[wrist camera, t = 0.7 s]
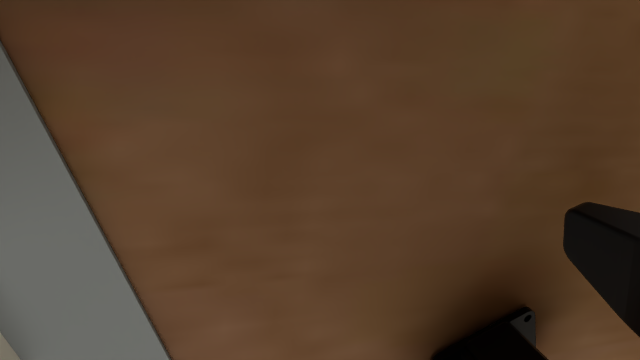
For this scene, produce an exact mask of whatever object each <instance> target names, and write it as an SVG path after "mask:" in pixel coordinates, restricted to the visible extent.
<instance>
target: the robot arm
mask: <svg viewBox="0 0 640 360" xmlns="http://www.w3.org/2000/svg"><path fill="white" fill-rule="evenodd" d="M563 247H564V251H565V253H566V255H567V257H568V258H569V259H570V261H571V262H572V263H573V264H574V265H575V266H576V268H577V269H578V270H579V271H580V272H581V273H582V275H583V276H584V277H585V278H586V279H587V280H588V281H589V283H590V284H591V285H592V286H593V287H594V288H595V290H596V291H597V292H598V293H599V294H600V295H601V297H602V298H603V299H604V300H605V301H606V302H607V303H608V305H609V306H610V307H611V308H612V309H613V310H614V312H615V313H616V314H617V315H618V316H619V317H620V318H621V319H622V320H623V321H624V322H625V323H626V324H627V325H628V326H629V327H630V328H631V329H632V330H633V331H634V332H635V333H636V334H637V335H638V336H639V337H640V213H638V212H633V211H629V210H624V209H619V208H615V207H610V206H605V205H601V204H596V203H591V202H585V203H582V204H580V205H578V206H575V207H573V208H571V209H569V210H568V211H567V212H566V214H565V218H564V238H563ZM433 360H548V359H547V358H546V357H545V356H544V355H543V354H542V353H541V352H540V351H539V350H538V349H537V348H536V333H535V312H533V311H532V310H531V309H530V308H529V307H524V308H522V309H520V310H518V311H516V312H514V313H512V314H510V315H509V316H507V317H505V318H503V319H501V320H499V321H497V322H496V323H494V324H492V325H490V326H488V327H486V328H484V329H483V330H481V331H479V332H477V333H475V334H473V335H471V336H470V337H468V338H466V339H464V340H462V341H460V342H458V343H457V344H455V345H453V346H451V347H449V348H447V349H445V350H444V351H442V352H440V353H438V354H437V355H436V356H435V357H434V359H433Z"/></svg>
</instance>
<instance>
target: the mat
mask: <svg viewBox="0 0 640 360" xmlns="http://www.w3.org/2000/svg"><path fill="white" fill-rule="evenodd" d="M0 333H1V334H2V335H3V337H4V338H5V339H6V341H7V342H8V343H9V345H10V346H11V347H12V349H13V350H14V351H15V353H16V354H17V355H18V357H19V358H20V360H171V358H170V356H169V354H168V352H167V350H166V348H165V347H164V345H163V343H162V341H161V339H160V337H159V335H158V334H157V332H156V330H155V328H154V326H153V324H152V322H151V321H150V319H149V317H148V315H147V313H146V311H145V309H144V307H143V306H142V304H141V302H140V300H139V298H138V296H137V294H136V293H135V291H134V289H133V287H132V285H131V283H130V281H129V279H128V278H127V276H126V274H125V272H124V270H123V268H122V266H121V265H120V263H119V261H118V259H117V257H116V255H115V253H114V251H113V250H112V248H111V246H110V244H109V242H108V240H107V238H106V237H105V235H104V233H103V231H102V229H101V227H100V225H99V223H98V222H97V220H96V218H95V216H94V214H93V212H92V210H91V209H90V207H89V205H88V203H87V201H86V199H85V197H84V196H83V194H82V192H81V190H80V188H79V186H78V184H77V182H76V181H75V179H74V177H73V175H72V173H71V171H70V169H69V168H68V166H67V164H66V162H65V160H64V158H63V156H62V154H61V153H60V151H59V149H58V147H57V145H56V143H55V141H54V140H53V138H52V136H51V134H50V132H49V130H48V128H47V126H46V125H45V123H44V121H43V119H42V117H41V115H40V113H39V112H38V110H37V108H36V106H35V104H34V102H33V100H32V98H31V97H30V95H29V93H28V91H27V89H26V87H25V85H24V84H23V82H22V80H21V78H20V76H19V74H18V72H17V70H16V69H15V67H14V65H13V63H12V61H11V59H10V57H9V56H8V54H7V52H6V50H5V48H4V46H3V44H2V43H1V41H0Z"/></svg>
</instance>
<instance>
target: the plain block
mask: <svg viewBox="0 0 640 360" xmlns="http://www.w3.org/2000/svg"><path fill="white" fill-rule="evenodd" d="M0 360H20V358H19V357H18V355H17V354H16V353H15V351H14V350H13V349H12V347H11V346H10V345H9V343H8V342H7V341H6V339H5V338H4V337H3V335H2V334H1V333H0Z"/></svg>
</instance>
